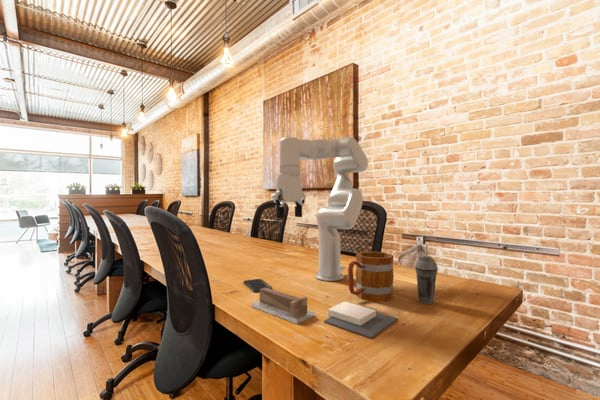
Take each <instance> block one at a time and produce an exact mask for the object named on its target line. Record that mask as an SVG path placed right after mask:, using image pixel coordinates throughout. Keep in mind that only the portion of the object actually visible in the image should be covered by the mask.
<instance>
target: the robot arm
mask: <svg viewBox="0 0 600 400" xmlns="http://www.w3.org/2000/svg"><path fill="white" fill-rule="evenodd" d="M328 159H334V160H333V164H332V168H333V171H334V176H335V177H334V178H335V182H334V184H333V187H332V190H331V191H330V194H329V195H328V197H327V203H328V206H323V207H321V208H320V209H318V211H317V212H316V213H317V214H316V222H317V227H318V228H317V229H318V272H316V273H315V278H316V279H317V280H320V281H325V282H337V281H341V280H343V279H344V278H345V277H344V276H345V275H344V274H343V273H342V271H344V270H346V267H345V265H341V235H340V233H339V231H338V230H351V229H352V228H353V227H354V226H355V225H356V222H357V219H358V217H359V215H360V212H361V211H362V206H363V201H364V198H363V197H364V195H363V194H362V191H361V190H360V189H358V188H354V187H353V186H354V183H353V181H352V179H351V177H350V176H349V175H348V174H350V173H363V172H366V170H367V169H368V167H369V162H368V157H367V156H366V153H365V152H364V150H363V148H362V146H361V145H360V144H359V142H358V141H357V139H355V138H354V137H352V136H349V137H342V138H319V139H314V140H313V139H312V140H311V139H301V138H300V139H299V138H297V137H293V136H287V137H286V136H285V137H282V138H281V139H280V140H279V174H278V175H277V179H276V186H275V192H273V193H272V194H271V198H272V202H273V204H274V205H275V208H276V218H277V219H284V218H285V207H284V205H285V203H287V202H288V203H291V202H292V203H293V204H295V206H294V217H296V218H302V217H303V207H304V204H305V202H306V201H305V200H306V198H307V195H306V194H305V193H303V183H302V177H301V161H305V160H311V161H313V160H315V161H316V160H328ZM337 229H338V230H337Z"/></svg>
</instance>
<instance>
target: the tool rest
mask: <svg viewBox="0 0 600 400" xmlns="http://www.w3.org/2000/svg"><path fill="white" fill-rule="evenodd" d="M251 308H254V309H257V310H260V311H262V312H265V313H267V314H269V315H272V316H274V317H278V318H280V319H283V320H285V321H288V322H290V323H293V324H295V325H298V324H300V323H302V322H304V321H306V320H309V319H310V318H314V317H315V316H316V315H315V313H316V312H315V311H313V310H310V309H308V308H307V311H305V312H302V313H300V314H298V315H295V316H290V312H289V311H286V310H283V309H280V308H277V307H274V306H272V305H269V304H266V303H263V302H260V299H259V300H257V301H254V302H251Z"/></svg>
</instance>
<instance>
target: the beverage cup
mask: <svg viewBox="0 0 600 400" xmlns="http://www.w3.org/2000/svg"><path fill="white" fill-rule="evenodd" d="M414 268H415V273H416V282H417V295H418V296H417V297H418V301H419V303H421V304H425V305H433V304H434V298H435V291H436V279H437V275H438V270H439V268H438V264H437V262H436V261H435V259H433V258H432V257H431V256H428V243H426V244H425V256H421V257H419V258H418V259H417V261H416V262H415V267H414Z"/></svg>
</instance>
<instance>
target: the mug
mask: <svg viewBox="0 0 600 400" xmlns="http://www.w3.org/2000/svg"><path fill="white" fill-rule="evenodd" d="M394 257H395V256H394V254H390V253H388V252H381V251H360V252H358V253H356V254H355V258H356V259H355V260H352V261H351V262H350V263H348V264H349V265H348V267H347V275H348V290H349V293H350V294H351V295H355V296H356V297H358V298H359V299H360V300H363V301H368V302H371V303H372V302H373V303H380V302H381V303H383V302H390V301H392V299H393V298H394V277H395V274H394ZM355 265H356V266H355ZM354 266H355V267H356V268H355V269H356V270H355V280H356V289H355V288H354V286H355V285H354V284H355V283H354Z"/></svg>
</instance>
